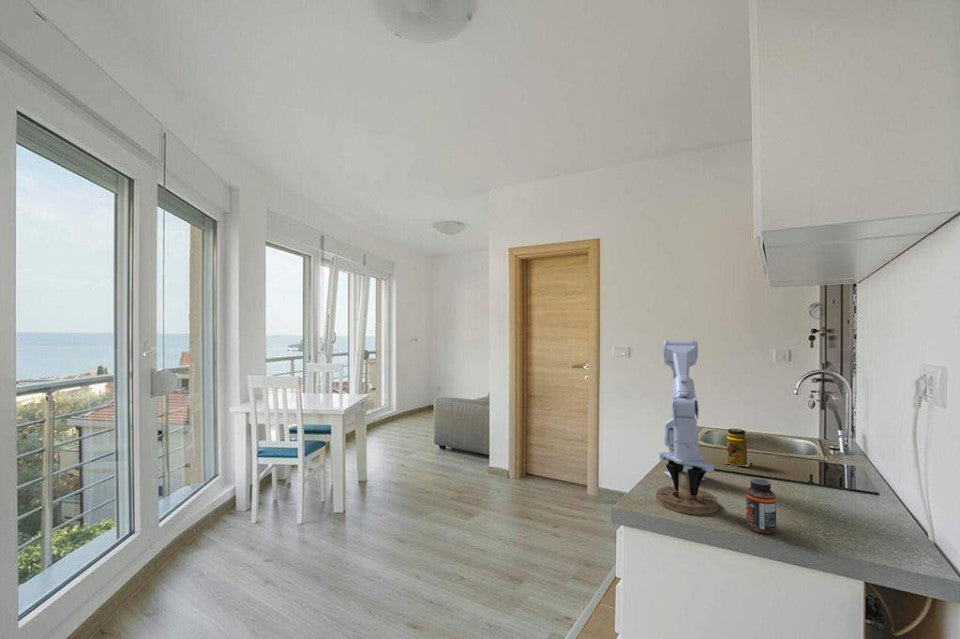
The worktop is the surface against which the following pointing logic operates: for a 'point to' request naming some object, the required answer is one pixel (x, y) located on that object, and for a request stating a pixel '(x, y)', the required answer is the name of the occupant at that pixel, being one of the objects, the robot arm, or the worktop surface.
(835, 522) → the worktop surface
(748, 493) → the supplement bottle
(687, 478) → the beech peg
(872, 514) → the worktop surface
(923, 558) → the worktop surface
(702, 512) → the walnut ring
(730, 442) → the condiment
